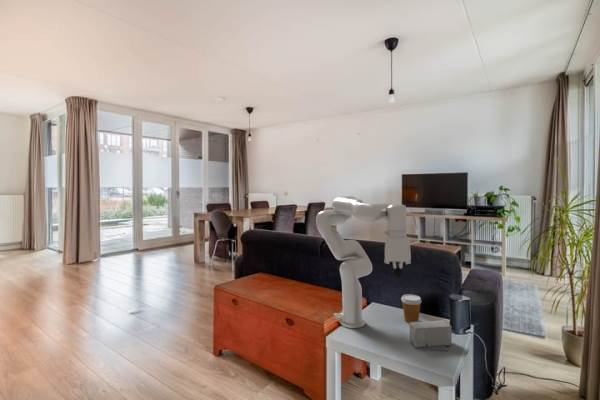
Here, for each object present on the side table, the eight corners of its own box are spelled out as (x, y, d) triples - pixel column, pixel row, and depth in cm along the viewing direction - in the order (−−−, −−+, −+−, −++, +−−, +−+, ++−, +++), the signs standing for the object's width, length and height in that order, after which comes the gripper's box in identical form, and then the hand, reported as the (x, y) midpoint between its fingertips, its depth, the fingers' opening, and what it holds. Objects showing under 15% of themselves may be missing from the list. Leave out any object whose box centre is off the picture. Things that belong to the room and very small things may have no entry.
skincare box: (414, 328, 124) (452, 326, 125) (408, 321, 132) (444, 318, 132) (415, 348, 125) (453, 346, 125) (408, 340, 132) (444, 337, 132)
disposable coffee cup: (418, 317, 155) (418, 294, 154) (424, 325, 145) (424, 301, 145) (399, 316, 156) (399, 293, 155) (403, 325, 146) (403, 300, 146)
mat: (417, 349, 124) (417, 348, 124) (411, 335, 136) (411, 334, 136) (448, 351, 123) (448, 350, 122) (439, 336, 134) (439, 335, 134)
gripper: (379, 235, 124) (380, 279, 125) (417, 235, 122) (418, 280, 123) (377, 232, 132) (378, 274, 132) (413, 232, 129) (414, 275, 130)
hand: (397, 277), depth 128 cm, fingers closed
